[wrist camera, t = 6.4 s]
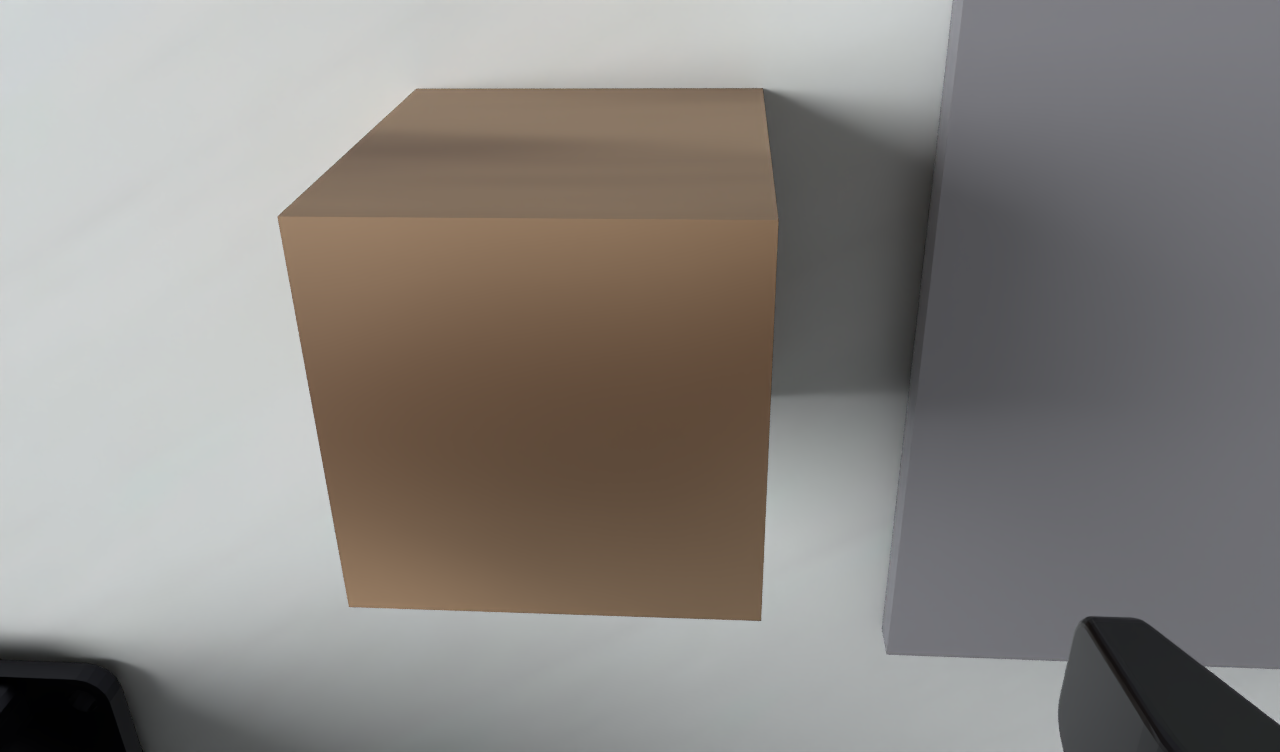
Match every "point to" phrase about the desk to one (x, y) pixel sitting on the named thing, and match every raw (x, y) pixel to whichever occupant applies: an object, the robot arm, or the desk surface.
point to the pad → (1097, 336)
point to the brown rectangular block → (545, 350)
